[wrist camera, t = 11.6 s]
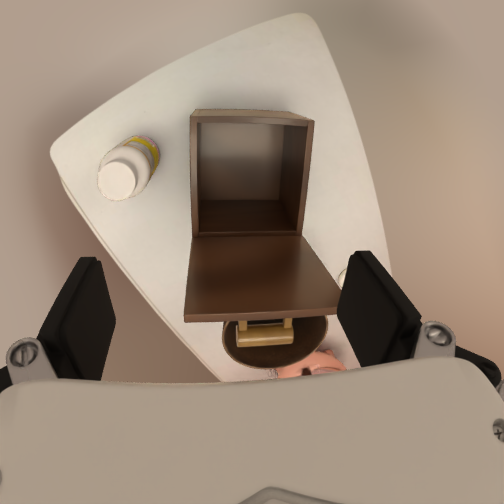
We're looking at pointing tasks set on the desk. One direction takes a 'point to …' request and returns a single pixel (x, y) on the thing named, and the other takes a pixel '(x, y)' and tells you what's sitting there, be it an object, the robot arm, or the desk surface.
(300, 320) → the flower pot
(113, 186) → the supplement bottle
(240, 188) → the chest
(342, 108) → the desk surface
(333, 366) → the piggy bank
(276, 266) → the brown wooden box lid
